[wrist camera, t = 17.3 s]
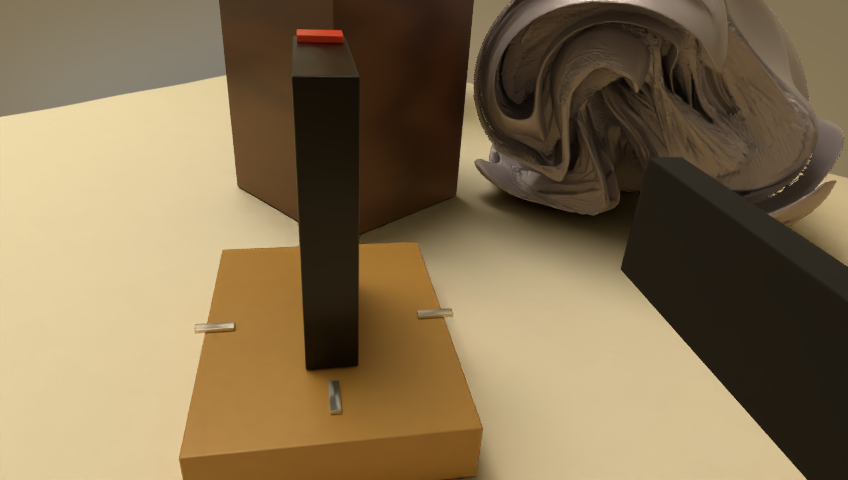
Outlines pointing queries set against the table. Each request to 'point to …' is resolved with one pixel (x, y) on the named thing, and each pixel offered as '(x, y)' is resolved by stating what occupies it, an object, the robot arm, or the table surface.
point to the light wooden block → (328, 379)
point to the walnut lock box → (379, 96)
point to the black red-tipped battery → (327, 194)
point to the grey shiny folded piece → (649, 102)
